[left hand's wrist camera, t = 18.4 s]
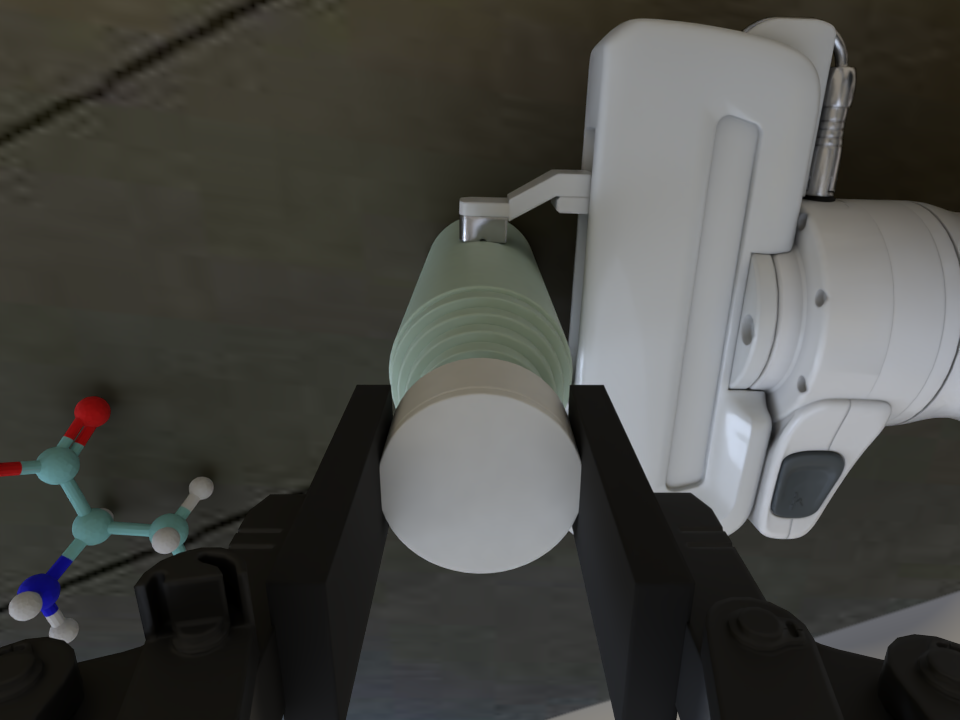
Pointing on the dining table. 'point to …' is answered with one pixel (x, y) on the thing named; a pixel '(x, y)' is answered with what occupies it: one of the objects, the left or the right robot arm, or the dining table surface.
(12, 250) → the dining table surface
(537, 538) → the cap
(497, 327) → the bottle
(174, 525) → the molecular model
